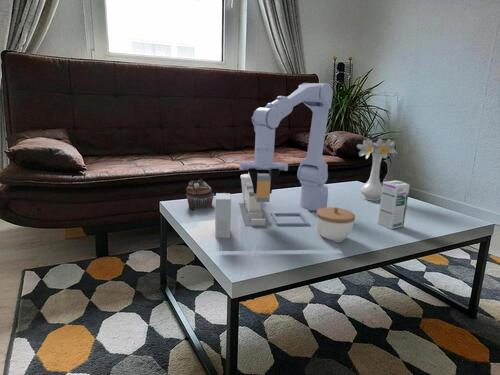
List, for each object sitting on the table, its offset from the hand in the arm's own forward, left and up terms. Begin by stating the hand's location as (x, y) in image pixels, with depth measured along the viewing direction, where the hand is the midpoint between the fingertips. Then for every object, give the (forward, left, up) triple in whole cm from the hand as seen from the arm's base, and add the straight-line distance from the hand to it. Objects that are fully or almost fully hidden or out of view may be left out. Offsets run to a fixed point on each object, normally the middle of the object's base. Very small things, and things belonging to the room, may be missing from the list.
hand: (262, 192), depth 106 cm
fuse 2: (+1, -8, -10) cm, 12 cm away
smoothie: (+1, -26, -10) cm, 28 cm away
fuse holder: (+1, -8, -10) cm, 13 cm away
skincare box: (+12, +9, -11) cm, 19 cm away
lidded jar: (-20, +11, -11) cm, 25 cm away
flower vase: (-50, -29, -10) cm, 58 cm away
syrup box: (-43, +1, -11) cm, 44 cm away
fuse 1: (+1, -16, -10) cm, 18 cm away
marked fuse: (0, 0, -2) cm, 2 cm away
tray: (-10, -2, -10) cm, 14 cm away
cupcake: (+19, -17, -11) cm, 28 cm away
